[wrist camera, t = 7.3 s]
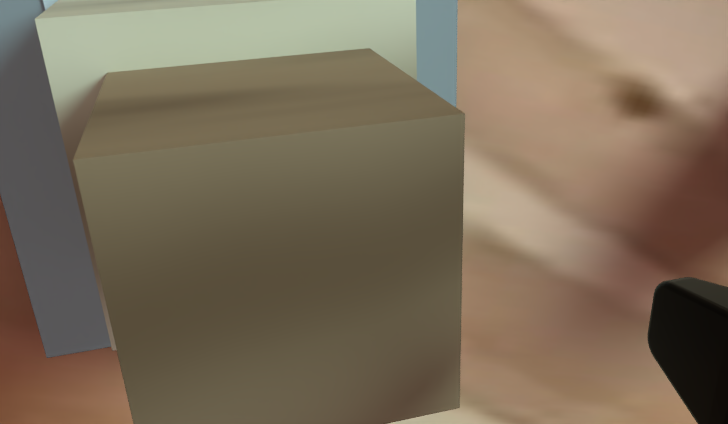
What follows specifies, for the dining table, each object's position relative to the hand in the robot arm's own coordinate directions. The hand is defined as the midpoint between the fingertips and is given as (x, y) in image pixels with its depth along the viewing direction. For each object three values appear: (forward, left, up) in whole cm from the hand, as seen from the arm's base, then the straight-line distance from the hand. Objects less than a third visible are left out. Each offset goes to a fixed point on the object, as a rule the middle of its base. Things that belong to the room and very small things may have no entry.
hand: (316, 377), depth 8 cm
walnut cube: (0, 0, -7) cm, 7 cm away
